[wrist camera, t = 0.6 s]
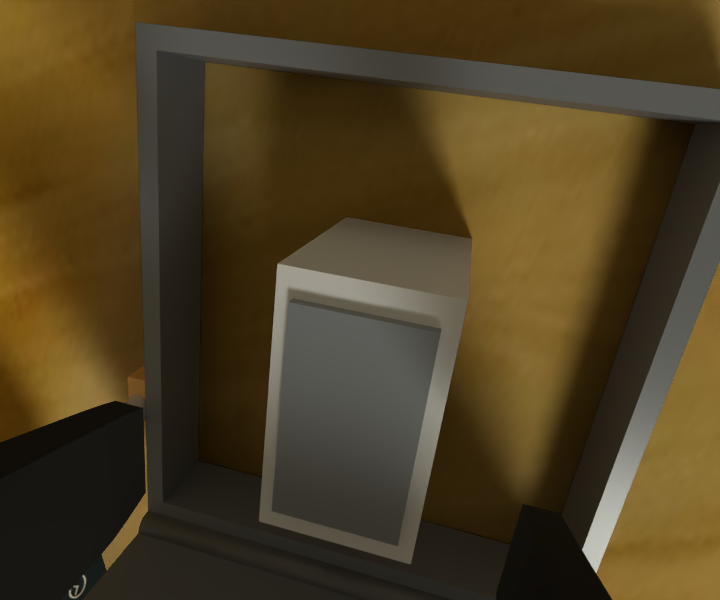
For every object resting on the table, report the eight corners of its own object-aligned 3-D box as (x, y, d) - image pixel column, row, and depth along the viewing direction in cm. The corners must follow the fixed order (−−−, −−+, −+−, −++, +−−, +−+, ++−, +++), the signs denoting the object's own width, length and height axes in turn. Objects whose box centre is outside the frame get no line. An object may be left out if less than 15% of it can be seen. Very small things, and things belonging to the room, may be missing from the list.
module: (472, 238, 15) (468, 305, 10) (432, 428, 18) (409, 572, 12) (346, 216, 16) (272, 266, 10) (324, 403, 19) (255, 528, 13)
